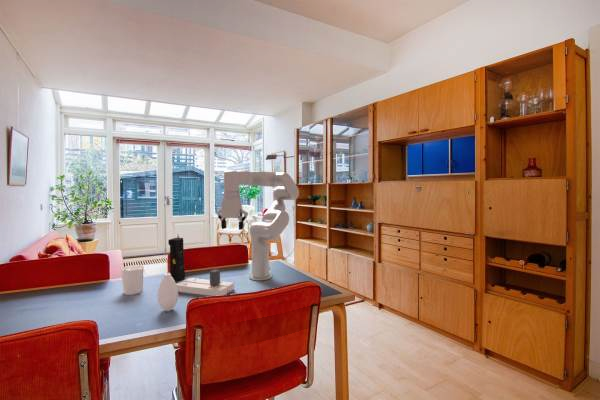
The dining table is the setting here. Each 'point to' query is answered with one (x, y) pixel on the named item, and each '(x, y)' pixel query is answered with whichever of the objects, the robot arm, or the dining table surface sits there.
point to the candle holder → (132, 279)
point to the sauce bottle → (167, 293)
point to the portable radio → (176, 258)
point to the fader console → (204, 287)
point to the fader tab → (214, 277)
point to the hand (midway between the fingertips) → (232, 228)
